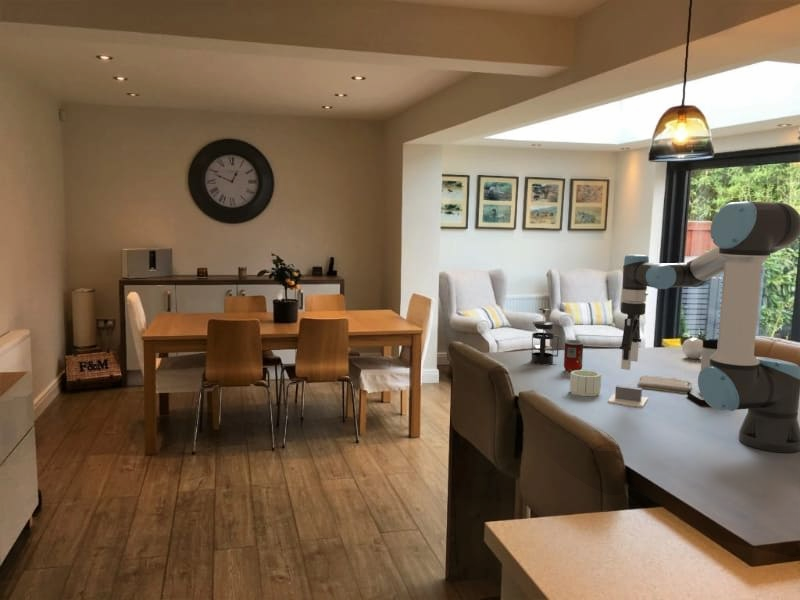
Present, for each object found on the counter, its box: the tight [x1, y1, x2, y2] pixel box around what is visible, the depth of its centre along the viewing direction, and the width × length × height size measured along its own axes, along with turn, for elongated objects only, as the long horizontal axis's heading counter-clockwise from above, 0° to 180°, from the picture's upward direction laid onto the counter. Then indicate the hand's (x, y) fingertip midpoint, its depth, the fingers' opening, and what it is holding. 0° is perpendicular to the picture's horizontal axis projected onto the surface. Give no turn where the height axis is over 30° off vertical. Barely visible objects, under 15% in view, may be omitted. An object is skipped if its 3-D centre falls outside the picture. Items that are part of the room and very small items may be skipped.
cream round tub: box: [569, 369, 602, 397], centre depth 224 cm, size 10×10×7 cm
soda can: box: [563, 339, 584, 373], centre depth 255 cm, size 7×7×12 cm
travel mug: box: [700, 338, 718, 371], centre depth 222 cm, size 6×7×20 cm
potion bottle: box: [681, 337, 703, 360], centre depth 281 cm, size 9×10×15 cm
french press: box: [530, 307, 560, 365], centre depth 271 cm, size 12×9×23 cm
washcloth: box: [636, 375, 693, 394], centre depth 233 cm, size 12×18×3 cm, turn 64°
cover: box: [607, 384, 649, 408], centre depth 214 cm, size 11×11×5 cm
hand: (629, 365), depth 213 cm, fingers open, 13 cm apart
